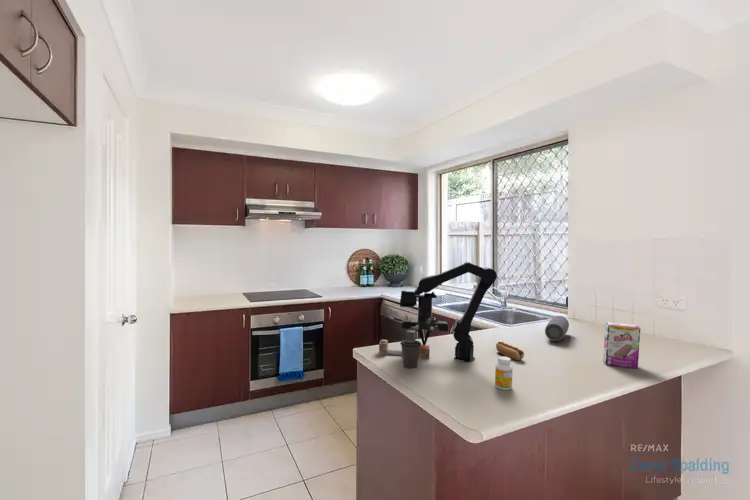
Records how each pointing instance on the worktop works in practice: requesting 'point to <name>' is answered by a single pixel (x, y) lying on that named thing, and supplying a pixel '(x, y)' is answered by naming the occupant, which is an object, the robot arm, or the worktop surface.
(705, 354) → the worktop surface
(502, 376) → the supplement bottle
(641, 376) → the worktop surface
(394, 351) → the handrail
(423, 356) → the cabinet
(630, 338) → the candy bar box
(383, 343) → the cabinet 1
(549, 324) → the bluetooth speaker
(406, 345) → the coffee cup
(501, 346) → the food
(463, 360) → the robot arm
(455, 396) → the worktop surface
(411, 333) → the plate
